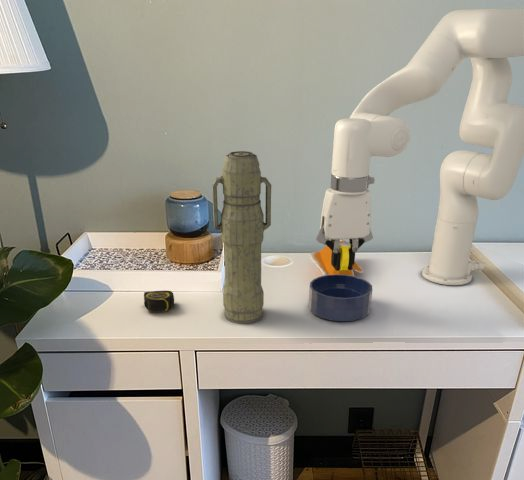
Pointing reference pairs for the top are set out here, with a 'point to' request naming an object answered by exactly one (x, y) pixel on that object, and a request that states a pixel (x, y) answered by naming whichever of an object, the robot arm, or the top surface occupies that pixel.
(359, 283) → the navy bowl
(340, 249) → the watch
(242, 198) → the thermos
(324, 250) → the fish
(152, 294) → the tape measure
